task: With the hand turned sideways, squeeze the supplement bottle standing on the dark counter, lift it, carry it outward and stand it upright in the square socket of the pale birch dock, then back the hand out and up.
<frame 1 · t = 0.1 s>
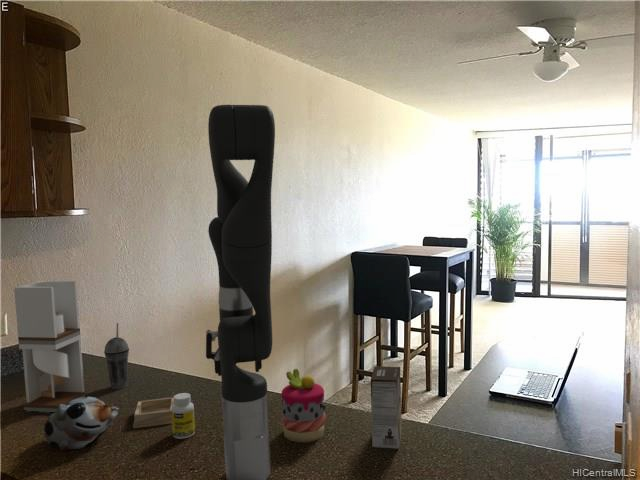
hand: (238, 372, 118), 17 cm above the worktop, tool pointing down, fingers open, 8 cm apart
lucky cat figurine: (83, 440, 125), on the worktop
supplement bottle: (184, 435, 126), on the worktop
cake: (304, 433, 124), on the worktop
white shelf stand: (55, 405, 147), on the worktop
birch dock: (156, 416, 136), on the worktop
beverage cup: (119, 387, 160), on the worktop
coffee box: (387, 439, 120), on the worktop
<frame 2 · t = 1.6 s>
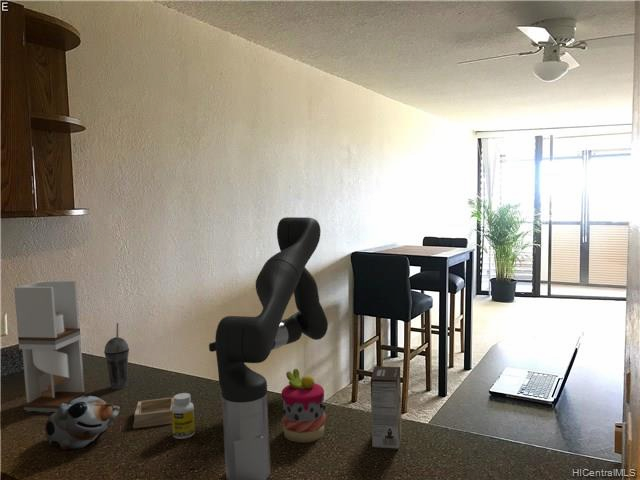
hand: (218, 351, 132), 18 cm above the worktop, tool horizontal, fingers open, 8 cm apart
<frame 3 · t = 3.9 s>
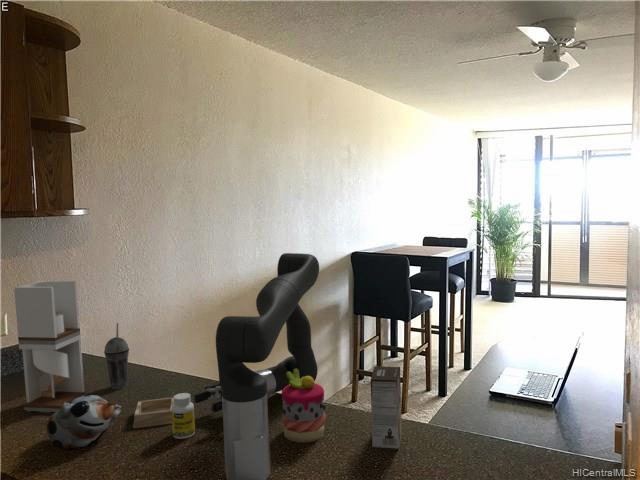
hand: (203, 403, 129), 6 cm above the worktop, tool horizontal, fingers open, 8 cm apart
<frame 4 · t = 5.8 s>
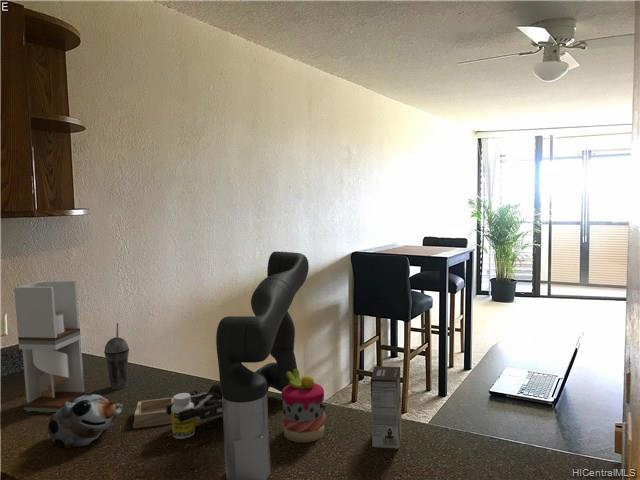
hand: (173, 413, 123), 6 cm above the worktop, tool horizontal, fingers closed on supplement bottle, 5 cm apart
supplement bottle: (184, 435, 126), on the worktop, touching gripper
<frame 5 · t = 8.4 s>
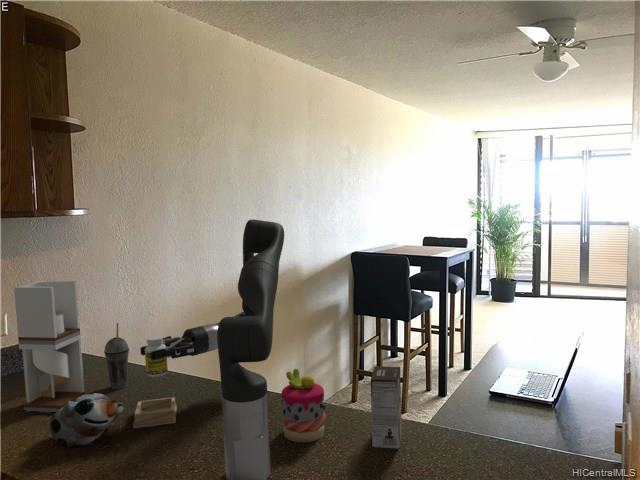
hand: (146, 353, 133), 18 cm above the worktop, tool horizontal, fingers closed on supplement bottle, 5 cm apart
supplement bottle: (157, 374, 135), point 12 cm above the worktop, touching gripper
when the fingers open (7 cm above the worktop, at t = 11.0 s): supplement bottle stays where it is, resting on birch dock.
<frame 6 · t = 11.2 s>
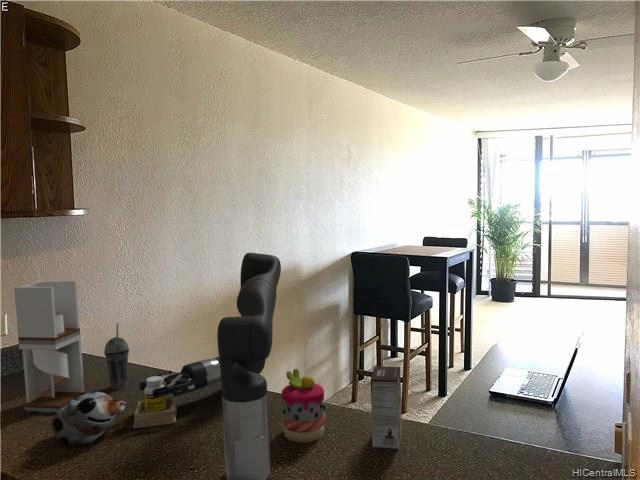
hand: (146, 390, 134), 8 cm above the worktop, tool horizontal, fingers open, 7 cm apart
supplement bottle: (156, 414, 137), resting on birch dock
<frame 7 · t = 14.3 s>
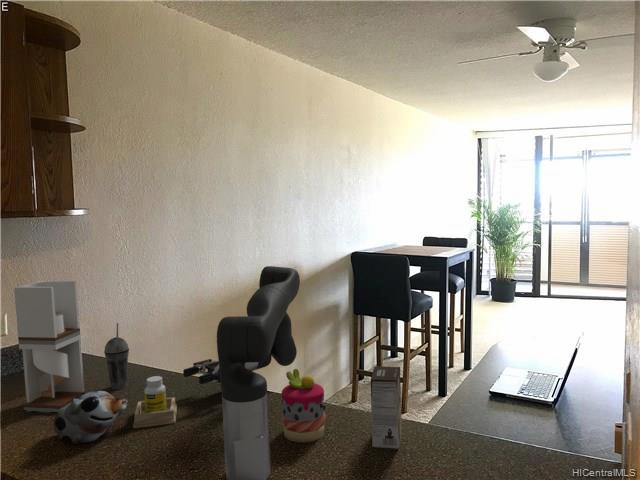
hand: (191, 377, 143), 8 cm above the worktop, tool horizontal, fingers open, 8 cm apart
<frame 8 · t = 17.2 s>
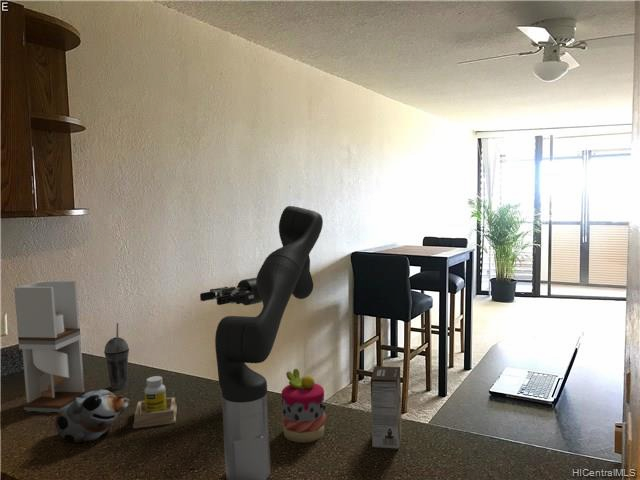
hand: (208, 299, 140), 30 cm above the worktop, tool horizontal, fingers open, 8 cm apart
at the end: supplement bottle 0.2 cm off-centre on the birch dock, point 0.4 cm above the birch dock's base; supplement bottle tilted 0°; the gripper is holding nothing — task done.
